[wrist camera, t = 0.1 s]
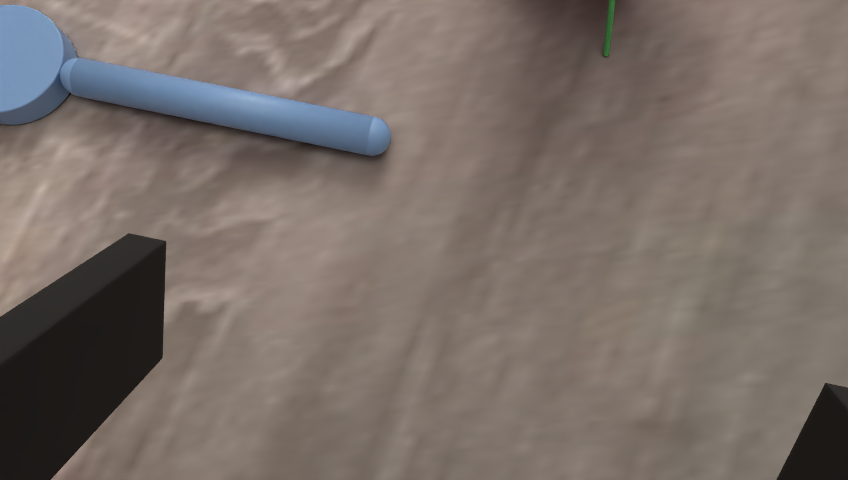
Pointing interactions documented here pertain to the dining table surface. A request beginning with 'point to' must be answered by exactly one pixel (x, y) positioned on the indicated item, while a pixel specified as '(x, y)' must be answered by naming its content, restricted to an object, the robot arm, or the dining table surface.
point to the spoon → (156, 91)
